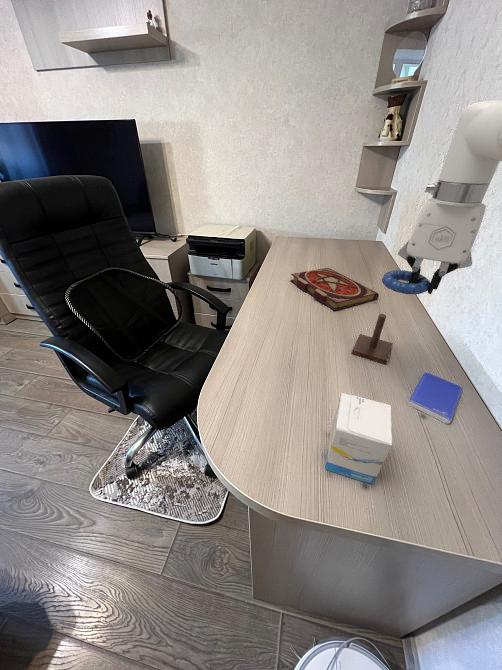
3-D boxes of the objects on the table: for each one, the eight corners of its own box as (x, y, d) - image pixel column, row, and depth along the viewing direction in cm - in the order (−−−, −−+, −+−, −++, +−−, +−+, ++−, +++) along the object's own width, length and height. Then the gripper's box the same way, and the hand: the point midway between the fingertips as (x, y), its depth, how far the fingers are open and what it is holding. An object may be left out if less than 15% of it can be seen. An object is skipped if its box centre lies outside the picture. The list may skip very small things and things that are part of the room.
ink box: (374, 486, 47) (394, 445, 41) (323, 469, 50) (335, 428, 43) (374, 444, 54) (391, 403, 47) (330, 431, 56) (340, 390, 50)
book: (377, 301, 103) (380, 288, 101) (332, 312, 96) (335, 299, 93) (328, 274, 124) (330, 263, 122) (288, 281, 116) (289, 270, 114)
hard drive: (451, 419, 57) (463, 387, 64) (409, 399, 61) (424, 371, 69) (448, 424, 58) (460, 391, 65) (407, 404, 62) (422, 375, 70)
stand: (391, 347, 79) (403, 312, 73) (385, 365, 73) (399, 328, 66) (359, 337, 83) (368, 304, 77) (351, 354, 77) (360, 318, 70)
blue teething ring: (428, 283, 62) (432, 273, 60) (426, 300, 55) (430, 290, 54) (384, 274, 65) (387, 265, 64) (377, 289, 59) (380, 280, 58)
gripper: (405, 192, 49) (377, 287, 60) (521, 201, 42) (466, 306, 53) (409, 187, 54) (383, 275, 65) (513, 194, 48) (465, 291, 58)
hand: (421, 288), depth 59 cm, fingers closed on blue teething ring, 2 cm apart
